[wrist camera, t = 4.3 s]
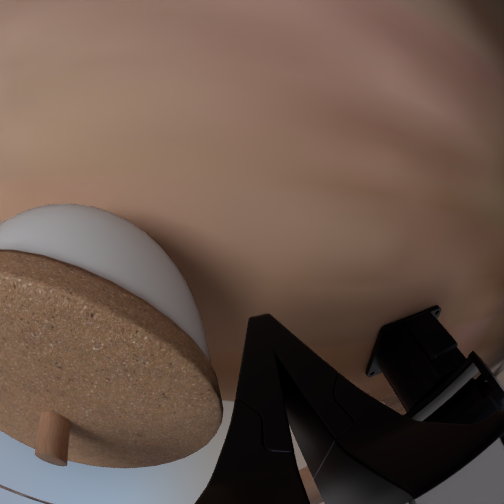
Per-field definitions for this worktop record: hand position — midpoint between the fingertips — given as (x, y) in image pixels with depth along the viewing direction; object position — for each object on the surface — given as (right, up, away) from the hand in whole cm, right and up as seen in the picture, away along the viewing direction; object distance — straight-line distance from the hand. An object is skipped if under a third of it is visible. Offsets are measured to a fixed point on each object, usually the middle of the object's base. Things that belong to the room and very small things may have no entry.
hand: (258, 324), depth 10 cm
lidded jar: (-8, +1, +3) cm, 9 cm away
